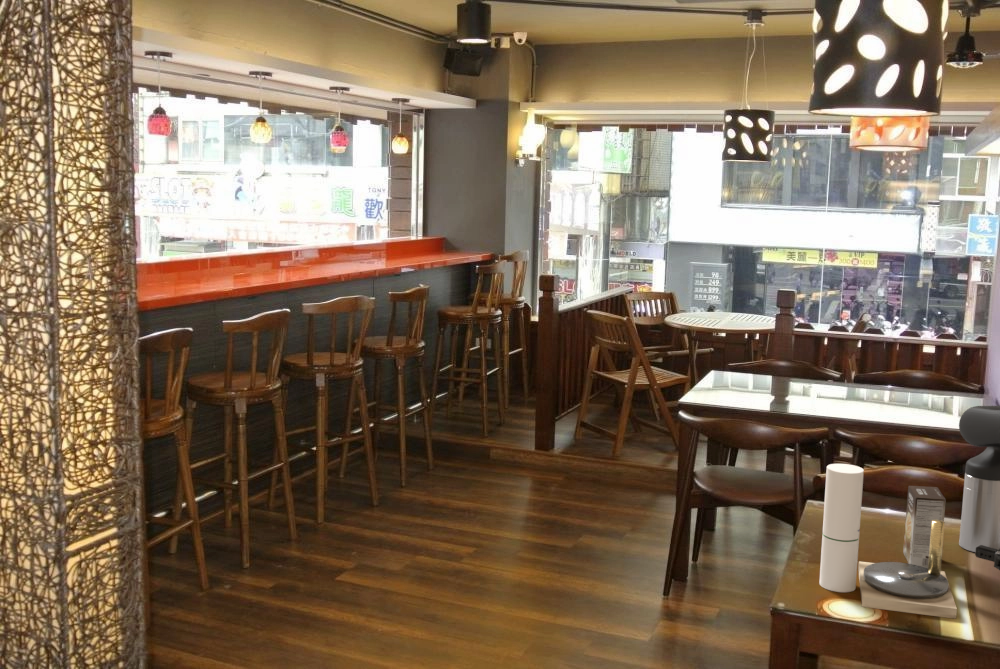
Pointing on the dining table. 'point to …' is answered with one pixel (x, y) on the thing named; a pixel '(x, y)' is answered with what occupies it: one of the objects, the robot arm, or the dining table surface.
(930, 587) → the crank wheel
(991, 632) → the dining table surface
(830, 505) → the cylindrical container
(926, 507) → the coffee box
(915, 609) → the stand
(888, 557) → the dining table surface
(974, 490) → the robot arm
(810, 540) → the dining table surface
